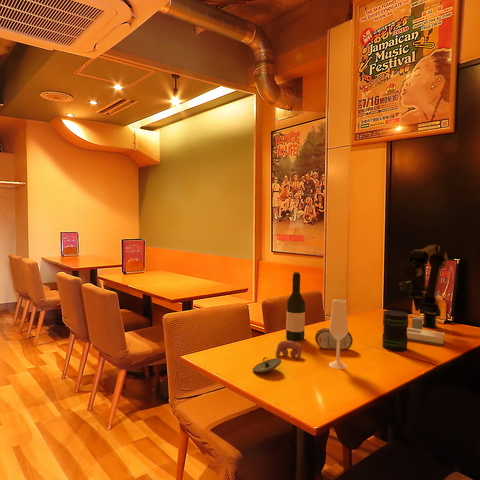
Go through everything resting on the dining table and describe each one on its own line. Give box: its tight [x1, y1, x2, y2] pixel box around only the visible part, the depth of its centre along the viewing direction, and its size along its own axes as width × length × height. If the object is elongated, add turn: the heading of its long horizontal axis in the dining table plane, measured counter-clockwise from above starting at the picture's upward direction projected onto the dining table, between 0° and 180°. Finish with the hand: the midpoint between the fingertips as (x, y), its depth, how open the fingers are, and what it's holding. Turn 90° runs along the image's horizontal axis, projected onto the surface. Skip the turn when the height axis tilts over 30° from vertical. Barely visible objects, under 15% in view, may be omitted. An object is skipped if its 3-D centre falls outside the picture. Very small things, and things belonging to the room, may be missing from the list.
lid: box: [252, 356, 282, 374], centre depth 133 cm, size 11×10×5 cm
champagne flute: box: [328, 298, 349, 370], centre depth 139 cm, size 7×7×24 cm
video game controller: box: [275, 340, 303, 361], centre depth 148 cm, size 10×5×7 cm, turn 71°
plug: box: [411, 316, 423, 330], centre depth 183 cm, size 4×4×7 cm
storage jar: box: [381, 309, 409, 353], centre depth 160 cm, size 10×10×15 cm
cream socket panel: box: [407, 327, 445, 347], centre depth 174 cm, size 9×24×4 cm, turn 58°
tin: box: [314, 327, 354, 351], centre depth 157 cm, size 15×3×8 cm, turn 84°
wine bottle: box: [285, 271, 306, 342], centre depth 170 cm, size 8×8×30 cm
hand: (418, 308), depth 182 cm, fingers open, 9 cm apart
